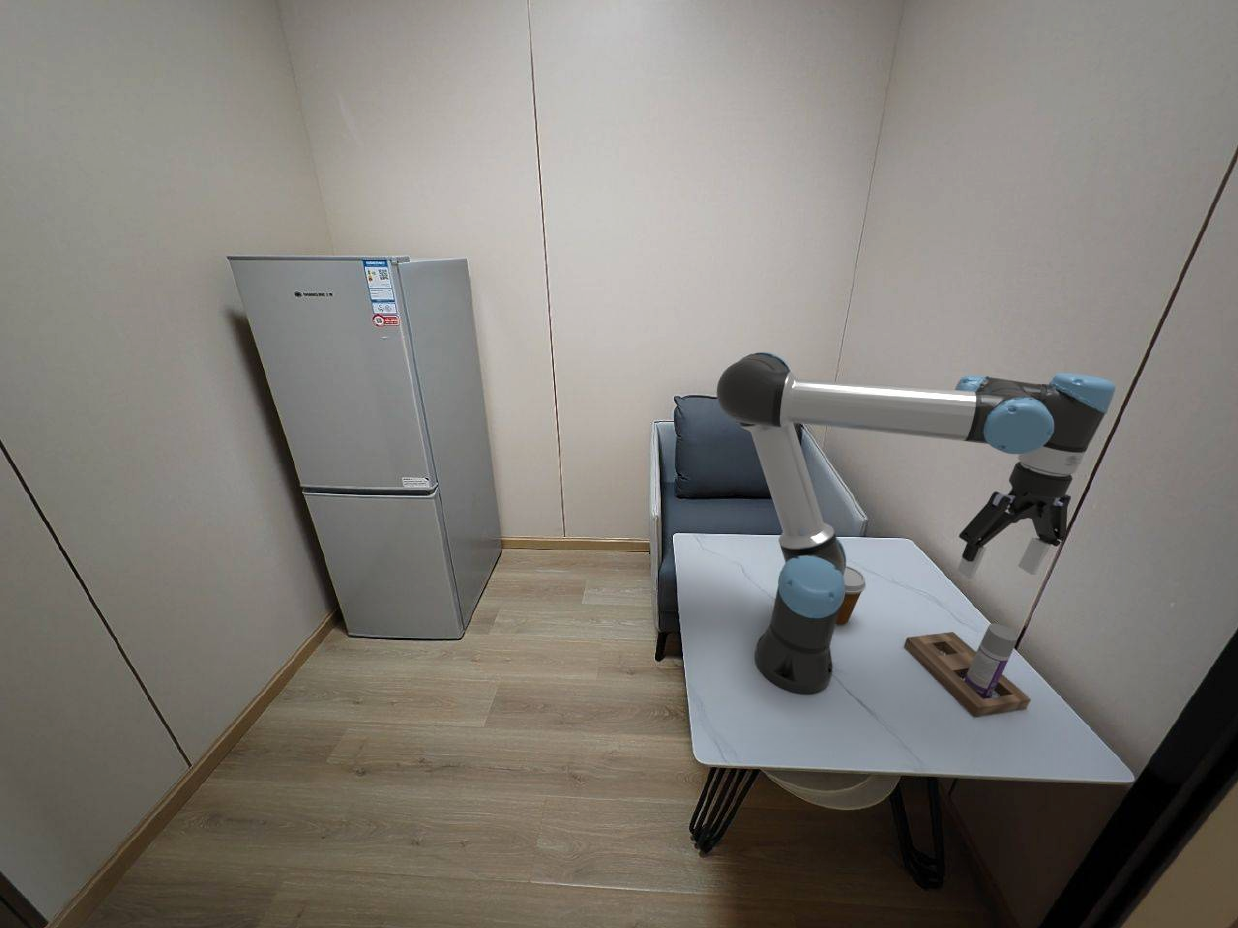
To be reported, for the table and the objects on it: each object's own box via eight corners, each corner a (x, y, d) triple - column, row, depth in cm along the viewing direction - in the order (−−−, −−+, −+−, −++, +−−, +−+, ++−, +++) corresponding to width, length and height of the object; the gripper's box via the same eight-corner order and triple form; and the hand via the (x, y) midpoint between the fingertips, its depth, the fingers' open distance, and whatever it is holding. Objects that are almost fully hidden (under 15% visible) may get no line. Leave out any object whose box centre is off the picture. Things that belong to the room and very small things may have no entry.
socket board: (974, 717, 88) (978, 707, 87) (903, 646, 104) (907, 637, 103) (1026, 708, 90) (1031, 699, 89) (949, 640, 106) (953, 631, 105)
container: (981, 681, 96) (1007, 624, 90) (996, 700, 91) (1025, 642, 86) (957, 679, 96) (982, 621, 90) (971, 698, 92) (998, 639, 86)
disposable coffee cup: (812, 623, 110) (822, 581, 105) (813, 599, 118) (822, 559, 114) (857, 634, 107) (869, 591, 102) (854, 609, 115) (865, 568, 110)
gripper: (1002, 479, 72) (955, 589, 81) (1129, 476, 77) (1071, 581, 85) (962, 460, 79) (922, 563, 88) (1081, 458, 84) (1032, 557, 92)
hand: (996, 572), depth 87 cm, fingers open, 13 cm apart
